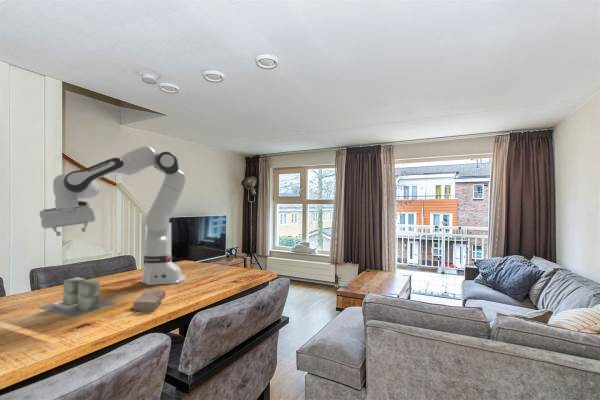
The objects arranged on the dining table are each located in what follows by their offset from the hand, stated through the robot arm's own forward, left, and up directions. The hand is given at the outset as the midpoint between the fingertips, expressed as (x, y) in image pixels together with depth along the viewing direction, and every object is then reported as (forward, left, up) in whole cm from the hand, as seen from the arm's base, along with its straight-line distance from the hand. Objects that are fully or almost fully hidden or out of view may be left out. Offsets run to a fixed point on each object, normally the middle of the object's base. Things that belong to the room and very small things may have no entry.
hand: (71, 233), depth 135 cm
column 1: (-15, +22, -26) cm, 37 cm away
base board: (-17, +24, -27) cm, 40 cm away
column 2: (-22, +27, -26) cm, 44 cm away
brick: (-44, +22, -28) cm, 56 cm away
